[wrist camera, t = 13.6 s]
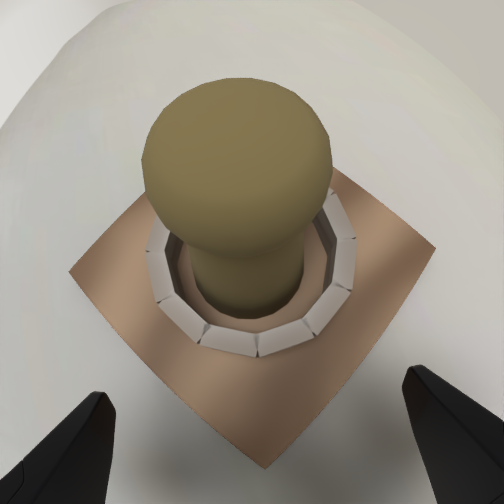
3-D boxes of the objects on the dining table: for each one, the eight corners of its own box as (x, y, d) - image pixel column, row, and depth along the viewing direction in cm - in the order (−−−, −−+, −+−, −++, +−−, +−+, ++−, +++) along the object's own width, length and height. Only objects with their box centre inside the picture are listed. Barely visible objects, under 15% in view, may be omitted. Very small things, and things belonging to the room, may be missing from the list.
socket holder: (428, 253, 18) (456, 232, 15) (264, 463, 15) (266, 486, 11) (242, 117, 22) (240, 82, 19) (76, 276, 18) (46, 258, 15)
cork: (206, 206, 19) (159, 48, 8) (310, 222, 18) (358, 66, 8) (181, 307, 17) (71, 219, 6) (295, 328, 16) (358, 266, 6)
